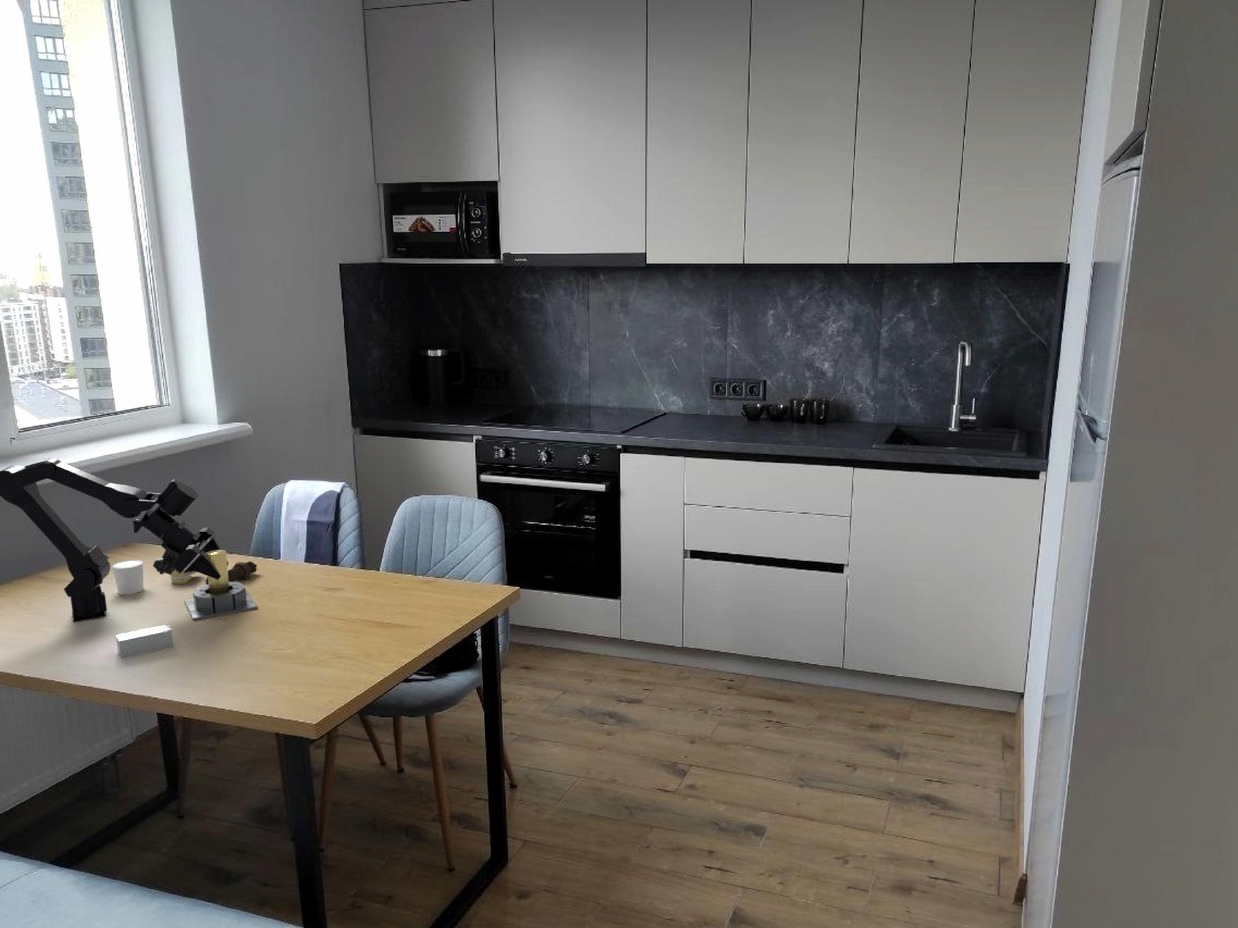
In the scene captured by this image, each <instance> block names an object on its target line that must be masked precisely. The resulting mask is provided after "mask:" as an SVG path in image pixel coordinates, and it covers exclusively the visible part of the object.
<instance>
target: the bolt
mask: <svg viewBox="0 0 1238 928" xmlns="http://www.w3.org/2000/svg"><path fill="white" fill-rule="evenodd" d="M257 567H258V566H257V564H256V563H254V562H253V561H251V560H250V561H246V562H243V561H241V562H239V561H238V562H236V563H235V564H234V565H233V567H232V568H230V569H228V580H229V582H238V581H247V580H248V579H249V578H250V577H251V575H252V574H254V573H256V572H257V570H258V568H257ZM207 584H208V576H207V577H206V579H205V585H207Z"/></svg>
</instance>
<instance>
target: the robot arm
mask: <svg viewBox="0 0 1238 928" xmlns="http://www.w3.org/2000/svg"><path fill="white" fill-rule="evenodd" d="M45 480H51V481H54V482H56V483H58V484H60V485H63V486H65V487H68V488H70V489H73V490H75V491H77V492H80V493H82V494H84V495H87V496H89V497H90V498H94V499H97V500H98V501H100V502H102V503H103V504H105V506H107V507H108V508H109V509H110V510H112V512H115V513H116V514H118V515H119V516H121V517H123V518H126V519H134V520H133V521H132V525H133V533H134V534H137V533H138V532H139V531H140V530H142V528H143V529H145V530H146V531H147V532H149V533H150V534H152V535H153V536H154V537H155V538H157V539H158V540H160V541H161V542H162V543H160V546H161V547H162V548H163V549H164V550H165V551H164V552H163V554H162V557H160V558H159V557H158V558H156V559H155V560H154V562H153V565H152V567H153V568H154V569H156V572H157V573H159V574H160V575H164V574H167V575H169V576H170V575H172V572H173V571H177V572H178V573H179V574H180V573H181V572H182V571H183V570H184V569H185V568H186V569H185V571H184V572H183V573H186V572H192V571H195V572H197V573H199V574H202V575H204V576H207V577H208V576H209V577H212V578H214V579H217V580H218V579H219V578H220V577H221V575H220V573H219V572H218V570H217V569H216V568H215V566H214V565H213V563H212V562H211V561H210V559H209V558H208V556H207V555H206V553H207V552H209V551H213V550H222V548H221V546H220V544H219V542H218V539H217V536H216V535H215V531H214V530H212V529H211V528H210V527H202V528H201V529H200V530H199V531H197V532H196V533H194V531H192V530H190V528H188V527H187V526H186V525H187V523H186V522H185V521H184V520H183V521H181V522H180V521H179V520H177V519H176V518H175V517H176V516H179V517H181V516H182V515H184V514H185V513H186V511H188V509H190V507H191V506H192V505H193V504H194V503H195V502H196V501H197V500H198V499H199V494H198V493H197V491H196V490H195V489H193V487H191V486H190V485H187V484H185V483H183V482H181V481H180V482H179V481H178V480H176V479H172V481H170V482H169V484H168V485H167V486H166V488H165V489H164V490H163V491H162V492H161V493H160V492H159V493H157V492H147V491H146V490H144V489H142V488H140V487H134V486H131V485H127V484H118V483H113V482H109V481H107V480H105V479H102V478H100V477H98V476H95V475H93V474H92V473H88V472H86V471H84V470H81V469H79V468H77V467H74V466H72V465H70V464H67V463H64V462H62V461H61V460H59V459H58V458H55V457H49V458H47V459H45V460H43V461H40V462H35V463H32V464H27V465H25V466H23V465H17V464H13V465H10V466H7V467H6V468H4V469H1V470H0V497H1V498H2V499H3V500H4V501H5V502H7V503H9V504H11V505H13V506H15V507H17V508H19V509H20V510H21V511H23V513H24V514H25V515H26V516H27V517H28V519H30V521H31V522H32V523H33V524H34V525H35V526H36V527H37V529H39V530H40V532H41V533H42V534H43V535H44V537H46V538H47V540H49V542H50V543H51V544H52V545H53V546H54V548H56V550H57V551H58V552H59V553H60V554H61V555H62V557H63V558H64V560H65V562H66V566H67V570H68V572H69V574H70V575H71V576H72V578H73V579H71V581H70V582H69V583H68V584H67V585H66V586H65V587H64V588H63V591H64V592H65V594H66V596H67V597H68V598H70V604H71V609H72V612H71V615H72V622H74V623H76V622H77V623H78V622H83V621H87V620H88V621H89V620H92V619H98V618H104V617H106V612H107V611H108V608H107V599H106V594H105V591H102V586H101V585H102V584H103V582H104V579H105V578H106V577H107V576H108V575H109V573H110V571H111V563H110V562H109V561H108V560H109V559H110V557H109V556H107V555H105V554H104V552H103V551H102V550H101V548H100V547H99V546H98V545H95V546H94V547H93V548H91V547H89V546H87V545H85V544H84V543H83V542H82V541H81V540H80V539H79V538H78V536H76V535H75V533H74V532H73V531H72V530H71V529H70V527H69V526H68V525H67V524H66V523H65V522H64V521H63V520H62V519H61V518H60V517H59V515H58V514H57V513H56V512H55V511H54V510H53V509H52V507H51V506H50V505H49V504H48V503H47V502H46V500H45V499H44V498H43V497H42V496H41V493H40V491H39V487H38V482H40V481H45ZM156 505H158V507H156V509H155V510H152V509H153V508H154V507H155V506H156ZM143 512H145V513H144V514H143V515H142V516H141V518H136V517H139V516H140V515H141V514H142V513H143ZM228 565H229V561H228V560H227V567H228Z"/></svg>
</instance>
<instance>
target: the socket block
mask: <svg viewBox="0 0 1238 928" xmlns="http://www.w3.org/2000/svg"><path fill="white" fill-rule="evenodd" d="M184 604H185V606H186V608H187V610H188V612H189V615H190V616H191V618H192V620H193V621H194V622H195V621H199V620H203V619H208V618H215V617H220V616H221V617H222V616H225V615H230V614H231V615H232V614H235V613H236V614H237V613H240V612H242V613H243V612H245V611H246V612H247V611H252V610H257V609H258V605H257V603H256V602H255V601H254V599H253V598H252V596H251V595H250V594H249V592H248V590H247V589H246V586H245V585H244V584H243V583H242V582H240V581H239V582H238V581H235V582H229V592H226V593H221V594H209V584H207V585H206V584H205V585H202V586H200V587H198V588H196V589H194V590H193V591H192V598H190V599H189V598H188V599H184Z"/></svg>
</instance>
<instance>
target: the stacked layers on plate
mask: <svg viewBox="0 0 1238 928" xmlns="http://www.w3.org/2000/svg"><path fill="white" fill-rule="evenodd" d="M185 569H186V568H185ZM185 569H184V570H183V571H182V572H181V573H180V574H179V573H178V572H177V571H173V572H172V575H169V576H168V578H170V580H171V581H170V582H171V584H186V583H187V582H188V581H190V580H191V579H192V575H194V574H196V573H198V572H195V571H192V572H186V573H183V572H184V571H185Z"/></svg>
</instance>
